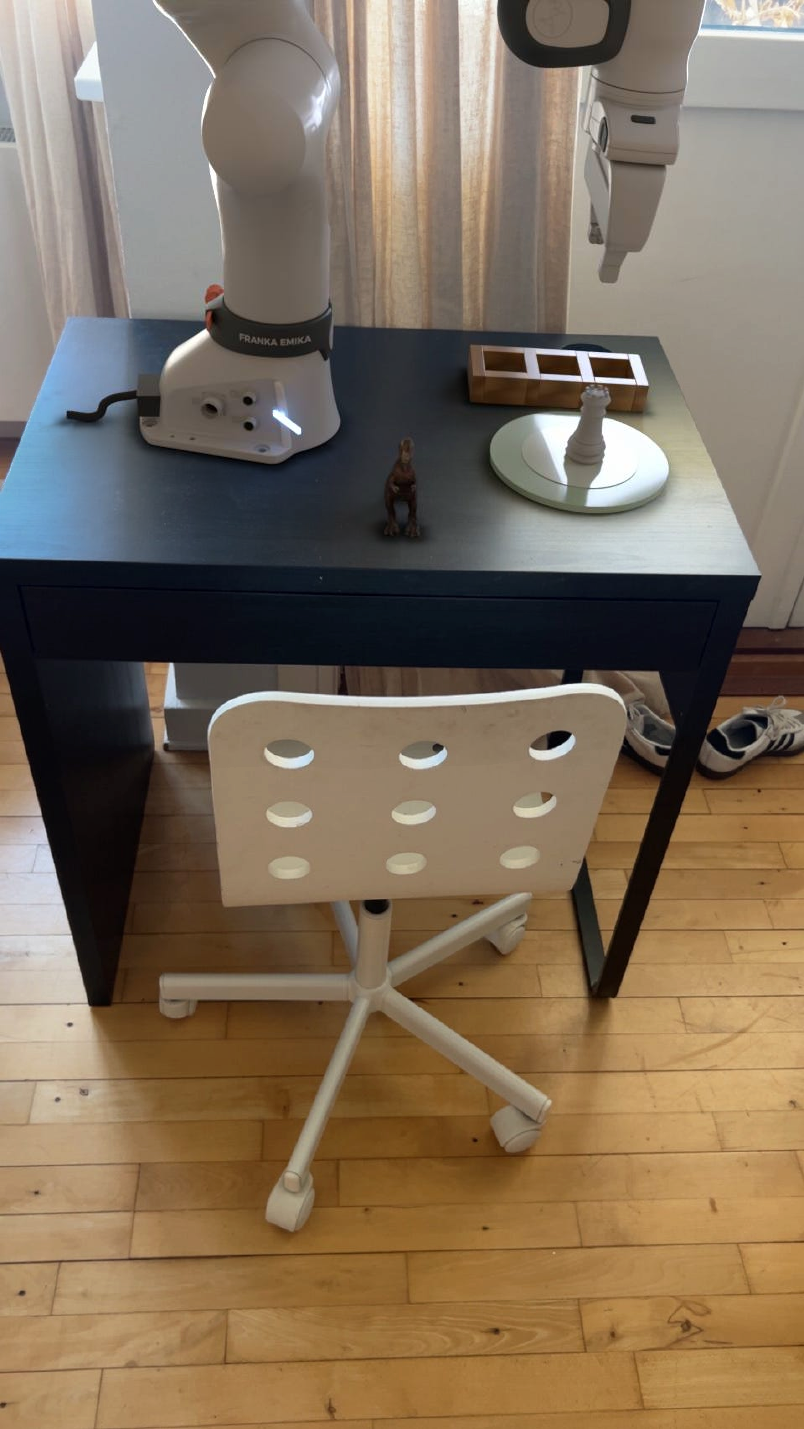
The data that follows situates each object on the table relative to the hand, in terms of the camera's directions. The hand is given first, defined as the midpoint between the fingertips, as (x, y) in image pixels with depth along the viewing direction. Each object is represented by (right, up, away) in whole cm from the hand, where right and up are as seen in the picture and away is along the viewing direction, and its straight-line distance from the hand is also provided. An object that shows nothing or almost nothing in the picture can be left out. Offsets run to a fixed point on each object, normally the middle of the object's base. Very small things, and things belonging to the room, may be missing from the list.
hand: (601, 260), depth 117 cm
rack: (-1, -6, +25) cm, 26 cm away
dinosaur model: (-20, -25, +4) cm, 32 cm away
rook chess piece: (0, -17, +12) cm, 21 cm away
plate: (0, -18, +13) cm, 22 cm away
